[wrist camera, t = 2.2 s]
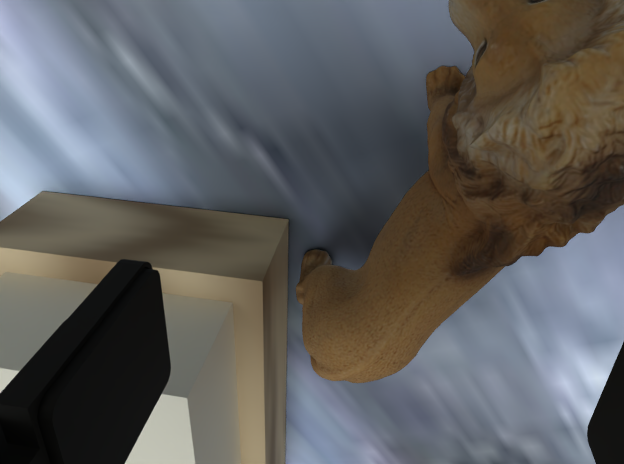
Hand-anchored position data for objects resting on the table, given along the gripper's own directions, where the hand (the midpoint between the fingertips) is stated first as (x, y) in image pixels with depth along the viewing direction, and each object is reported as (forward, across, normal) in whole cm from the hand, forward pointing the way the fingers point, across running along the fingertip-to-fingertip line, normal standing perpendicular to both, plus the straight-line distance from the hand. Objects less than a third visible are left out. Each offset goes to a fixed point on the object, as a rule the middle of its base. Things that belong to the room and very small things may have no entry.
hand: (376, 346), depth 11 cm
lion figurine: (+9, -1, -1) cm, 9 cm away
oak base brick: (+9, +8, +10) cm, 16 cm away
